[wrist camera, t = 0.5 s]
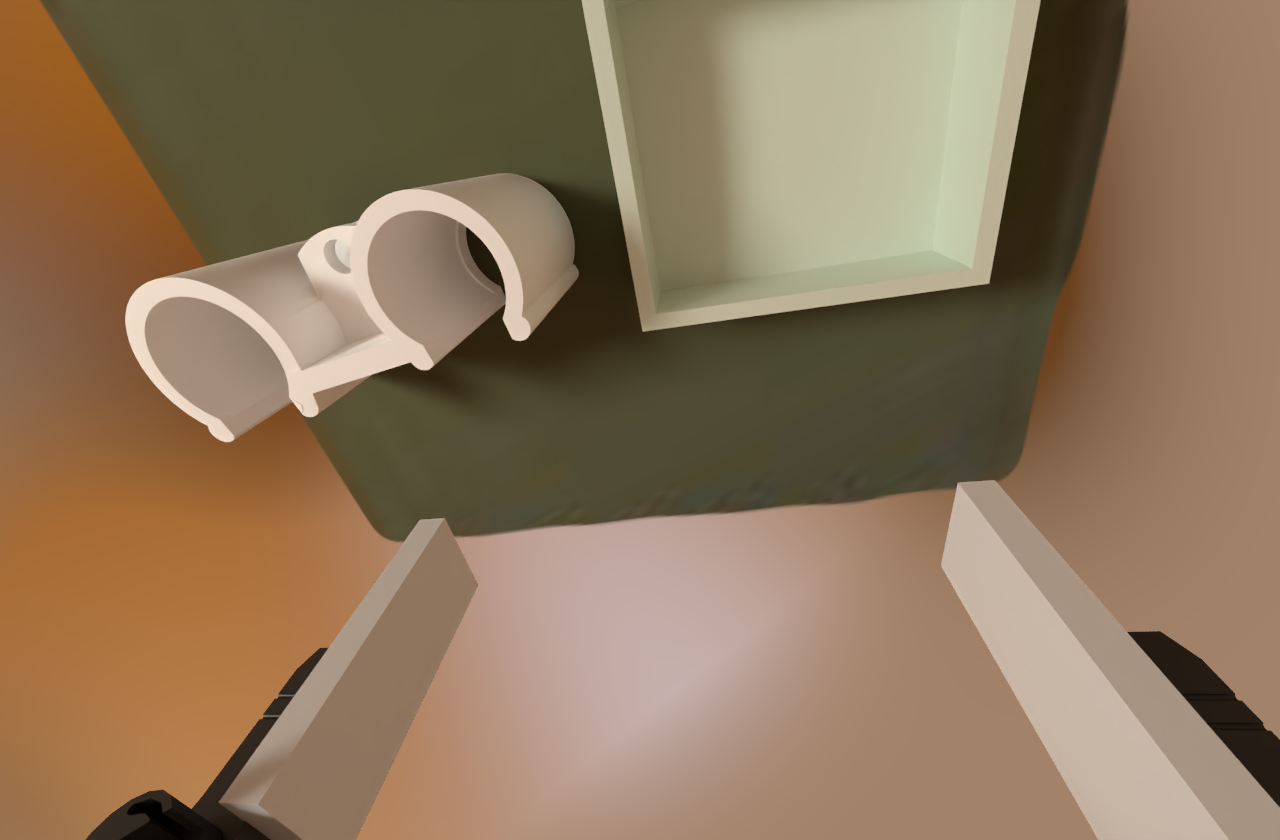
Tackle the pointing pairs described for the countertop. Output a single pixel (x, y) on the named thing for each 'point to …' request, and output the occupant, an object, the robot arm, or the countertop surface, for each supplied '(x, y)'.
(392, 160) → the countertop surface
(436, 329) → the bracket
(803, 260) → the tub
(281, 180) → the countertop surface
